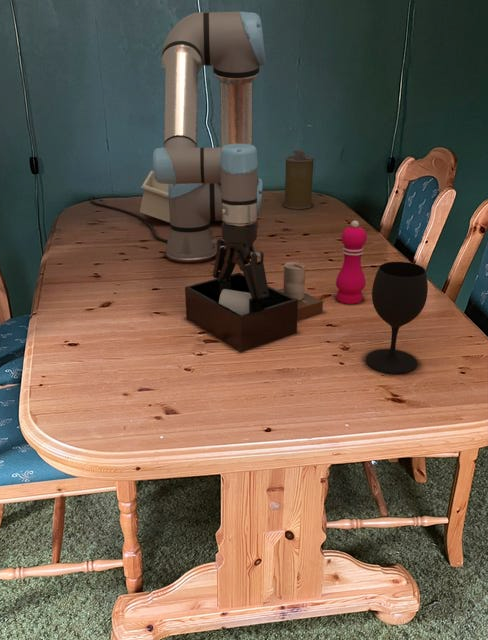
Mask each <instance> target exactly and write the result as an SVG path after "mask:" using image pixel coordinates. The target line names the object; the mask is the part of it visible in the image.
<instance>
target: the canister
mask: <svg viewBox="0 0 488 640" xmlns="http://www.w3.org/2000/svg"><path fill="white" fill-rule="evenodd" d="M291 153H292V154H294V155H290V156H285V175H284V176H285V178H284V179H285V180H284V203H283V206H284V207H285V208H287V209H291V210H306V209H307V210H308V209H309V208H312V206H313V205H312V198H313V197H312V196H313V195H312V194H313V179H314V177H315V174H316V167H314V161H315V160H316V156H315V157H314V156H309V155H306V153H305V150H304V149H295V150H292V152H291Z"/></svg>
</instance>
